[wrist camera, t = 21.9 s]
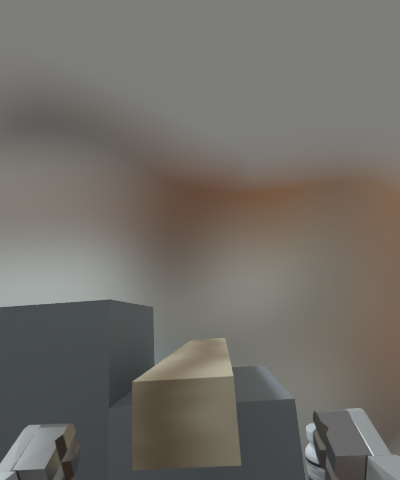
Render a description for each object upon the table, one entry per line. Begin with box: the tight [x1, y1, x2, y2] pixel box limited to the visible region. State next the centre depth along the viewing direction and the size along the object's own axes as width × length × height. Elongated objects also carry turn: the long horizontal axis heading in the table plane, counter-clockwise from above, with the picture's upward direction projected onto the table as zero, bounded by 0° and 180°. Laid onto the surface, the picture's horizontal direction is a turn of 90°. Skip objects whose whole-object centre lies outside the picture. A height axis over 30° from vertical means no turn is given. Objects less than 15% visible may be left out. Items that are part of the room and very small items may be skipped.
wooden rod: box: [132, 338, 241, 470], centre depth 23 cm, size 4×24×3 cm, turn 176°
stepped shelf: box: [0, 300, 305, 480], centre depth 25 cm, size 24×14×26 cm, turn 86°
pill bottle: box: [305, 423, 325, 480], centre depth 37 cm, size 6×6×10 cm
